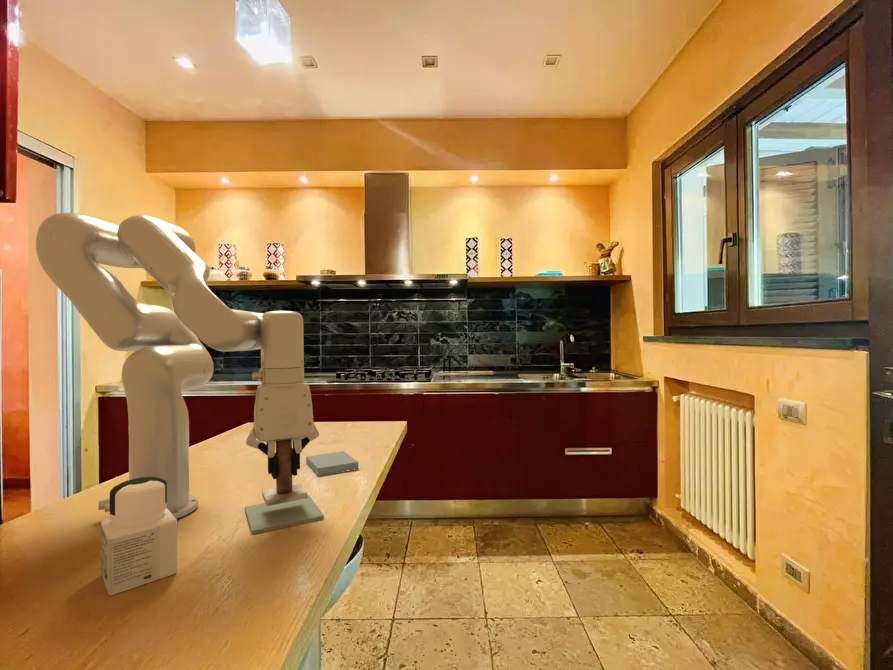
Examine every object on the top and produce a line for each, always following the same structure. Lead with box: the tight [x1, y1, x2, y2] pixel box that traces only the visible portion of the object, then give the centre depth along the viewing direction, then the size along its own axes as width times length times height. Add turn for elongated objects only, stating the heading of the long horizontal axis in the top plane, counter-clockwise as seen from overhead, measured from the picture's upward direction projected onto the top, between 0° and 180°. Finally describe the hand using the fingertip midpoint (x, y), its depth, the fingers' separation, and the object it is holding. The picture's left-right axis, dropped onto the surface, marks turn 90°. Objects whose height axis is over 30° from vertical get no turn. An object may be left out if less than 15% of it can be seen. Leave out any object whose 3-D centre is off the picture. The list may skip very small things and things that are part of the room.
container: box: [100, 477, 178, 596], centre depth 60 cm, size 8×8×13 cm
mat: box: [244, 494, 325, 535], centre depth 80 cm, size 12×12×1 cm
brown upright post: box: [261, 439, 308, 506], centre depth 80 cm, size 7×6×12 cm
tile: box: [305, 450, 359, 477], centre depth 110 cm, size 2×12×10 cm
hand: (284, 474), depth 80 cm, fingers closed on brown upright post, 2 cm apart
